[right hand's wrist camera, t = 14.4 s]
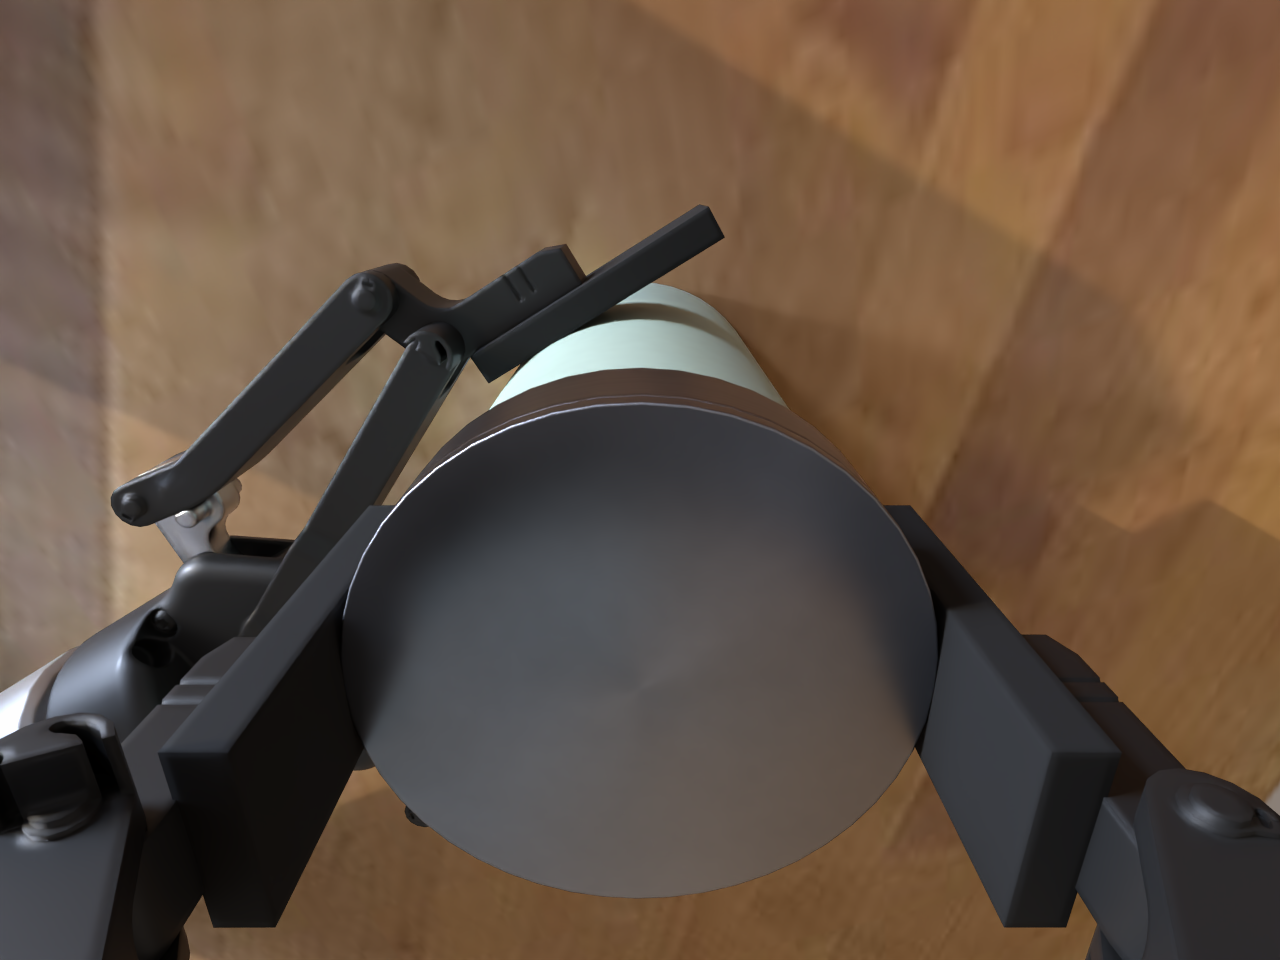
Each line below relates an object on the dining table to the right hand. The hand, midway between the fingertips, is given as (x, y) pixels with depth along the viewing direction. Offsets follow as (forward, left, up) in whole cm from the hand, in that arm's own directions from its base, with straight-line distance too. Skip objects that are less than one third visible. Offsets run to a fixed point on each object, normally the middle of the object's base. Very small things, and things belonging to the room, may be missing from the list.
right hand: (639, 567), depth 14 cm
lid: (0, 0, +3) cm, 3 cm away
